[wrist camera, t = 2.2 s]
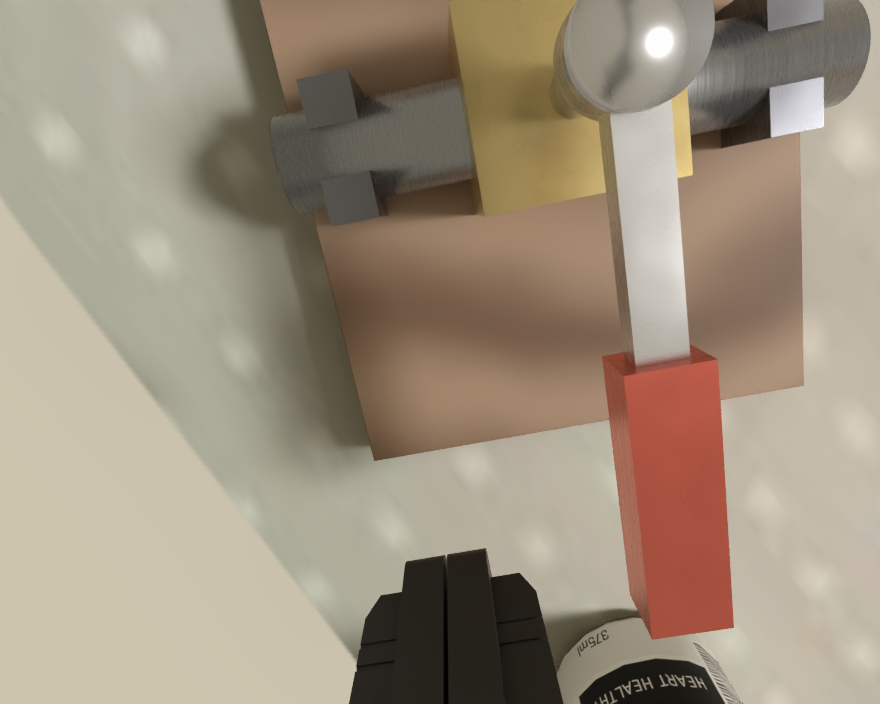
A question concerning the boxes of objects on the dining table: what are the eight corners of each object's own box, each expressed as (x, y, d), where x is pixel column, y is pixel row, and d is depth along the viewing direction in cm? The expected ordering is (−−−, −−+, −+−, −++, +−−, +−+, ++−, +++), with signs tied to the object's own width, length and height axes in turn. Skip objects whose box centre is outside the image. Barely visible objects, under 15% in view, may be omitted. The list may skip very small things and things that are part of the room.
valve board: (222, -194, 18) (202, -230, 16) (761, -330, 17) (792, -380, 15) (378, 445, 24) (374, 460, 22) (780, 374, 23) (803, 385, 21)
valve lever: (545, 1, 11) (562, -34, 9) (671, -27, 11) (710, -67, 9) (619, 596, 15) (640, 641, 13) (713, 581, 14) (746, 625, 13)
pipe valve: (289, 94, 20) (173, 6, 11) (779, -12, 19) (1059, -197, 10) (326, 244, 21) (247, 267, 13) (782, 152, 20) (1031, 111, 12)
